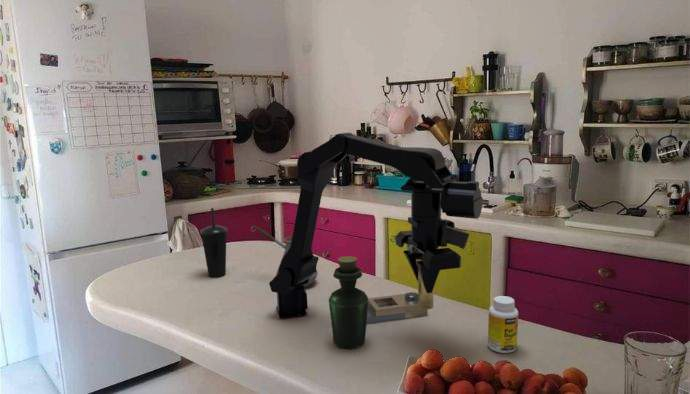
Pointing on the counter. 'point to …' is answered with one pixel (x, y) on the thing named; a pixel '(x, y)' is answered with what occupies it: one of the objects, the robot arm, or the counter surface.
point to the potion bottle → (348, 306)
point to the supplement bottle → (503, 325)
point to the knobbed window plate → (394, 308)
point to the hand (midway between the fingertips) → (425, 289)
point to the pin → (423, 292)
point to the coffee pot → (286, 247)
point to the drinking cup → (215, 248)
